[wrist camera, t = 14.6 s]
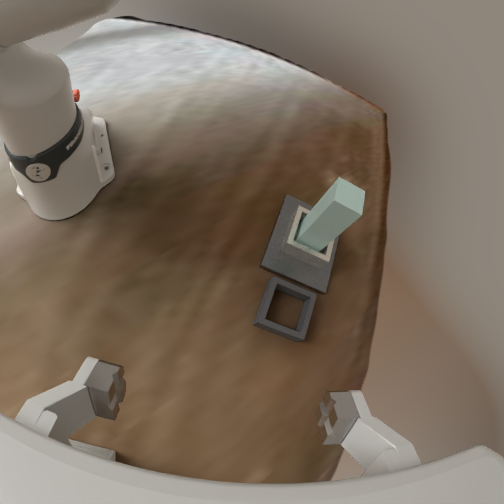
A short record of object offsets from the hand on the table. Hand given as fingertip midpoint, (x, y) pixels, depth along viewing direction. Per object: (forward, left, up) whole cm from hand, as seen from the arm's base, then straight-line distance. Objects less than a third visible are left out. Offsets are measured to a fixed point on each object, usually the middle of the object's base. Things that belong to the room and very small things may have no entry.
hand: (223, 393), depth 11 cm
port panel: (-16, +22, -29) cm, 39 cm away
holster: (-6, +15, -29) cm, 33 cm away
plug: (-16, +22, -28) cm, 39 cm away
